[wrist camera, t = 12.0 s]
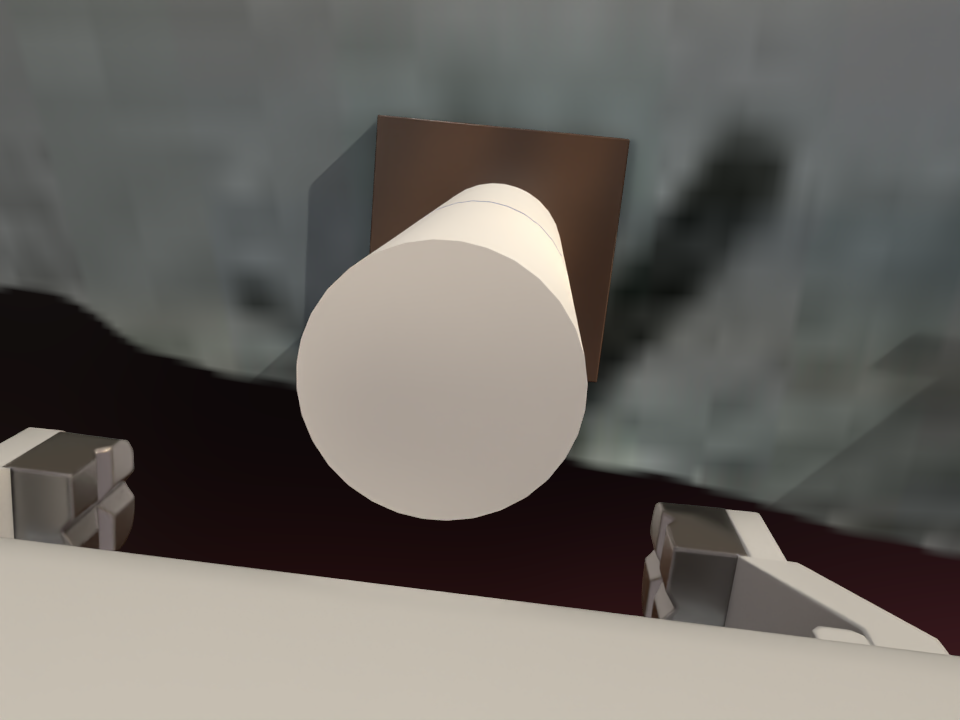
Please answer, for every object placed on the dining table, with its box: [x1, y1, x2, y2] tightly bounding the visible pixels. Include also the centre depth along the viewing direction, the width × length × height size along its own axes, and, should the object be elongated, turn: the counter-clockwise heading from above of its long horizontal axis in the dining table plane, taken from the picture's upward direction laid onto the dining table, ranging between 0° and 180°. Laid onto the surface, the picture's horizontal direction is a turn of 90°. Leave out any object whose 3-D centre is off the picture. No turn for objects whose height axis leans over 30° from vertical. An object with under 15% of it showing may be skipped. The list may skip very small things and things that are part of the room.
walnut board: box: [369, 115, 630, 382], centre depth 45 cm, size 13×13×1 cm
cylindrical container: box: [297, 183, 588, 521], centre depth 32 cm, size 7×7×25 cm
